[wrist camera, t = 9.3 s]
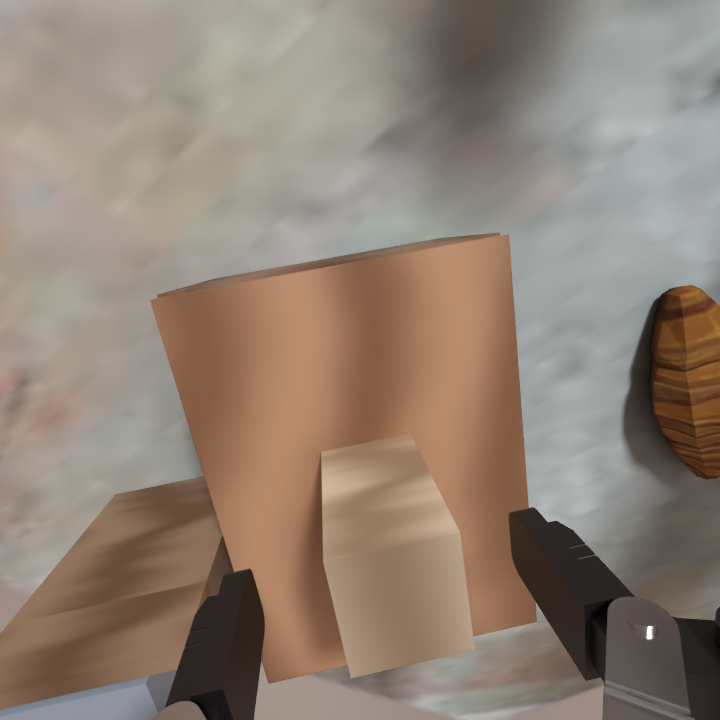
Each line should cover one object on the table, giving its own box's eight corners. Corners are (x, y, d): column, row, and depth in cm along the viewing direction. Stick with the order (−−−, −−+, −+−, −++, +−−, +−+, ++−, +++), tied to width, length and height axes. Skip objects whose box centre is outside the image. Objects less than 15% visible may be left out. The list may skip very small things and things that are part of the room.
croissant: (610, 305, 26) (677, 318, 21) (712, 265, 26) (802, 269, 21) (645, 483, 30) (709, 528, 25) (734, 448, 30) (815, 487, 25)
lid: (497, 235, 16) (629, 225, 9) (526, 604, 21) (627, 776, 14) (160, 297, 15) (36, 334, 9) (271, 662, 20) (247, 871, 13)
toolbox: (440, 238, 24) (565, 226, 12) (471, 509, 28) (583, 697, 16) (44, 309, 22) (-264, 377, 11) (147, 578, 27) (14, 834, 15)
